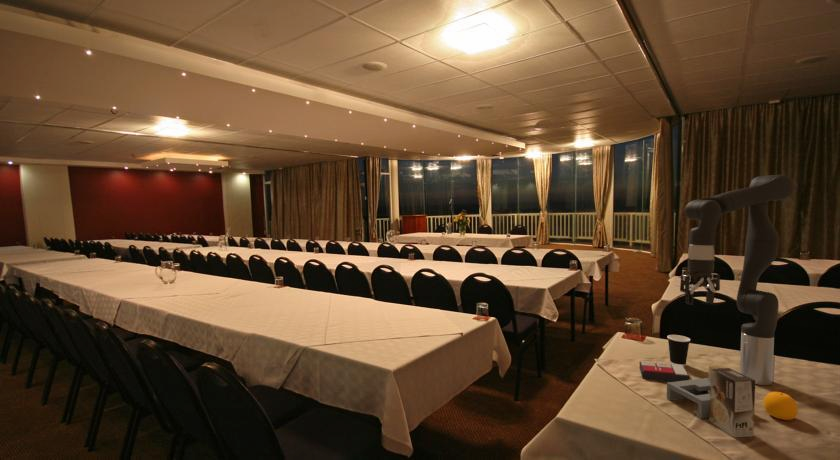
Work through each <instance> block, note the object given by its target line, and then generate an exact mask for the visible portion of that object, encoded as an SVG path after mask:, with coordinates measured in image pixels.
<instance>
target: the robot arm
mask: <svg viewBox="0 0 840 460" xmlns="http://www.w3.org/2000/svg"><path fill="white" fill-rule="evenodd" d="M794 188H795V187H794V181H793V179H792V178H790V177H789V176H787V175H785V174H771V175H769V174H768V175H761V176H756V177H754V178H753V179H752V180H751V182H750V183H749V187H746V188H745V187H744V188H739V189H733V190H728V191H726V192H722V193H719V194H717V195H714V196H708V197H703V198H699V199H698V198H697V199H694V200H691V201H690V202H689V201H688V203H687V204H686V205H685V208H684V215H685V216H686V218H688V219H690V220H691V221H700V222H699V226H697V227H693V228H691V229H690V230H689V241H688V242H689V244H688V251H687V252H688V253H687V270H688V271H689V274H681V275H680V285H679V286H680V287H679V291H680V292H681V293H685V295H684V296H685V304H686V305H689V306H693V305H694V292H695V291H696V290H697V289H699V288H704V289H705V290H706V291H705V293H706V294H705V302H706V303H707V304H714V301H715V293H716V292H717V291H718V292H719V291H721V277H720V276H721V274H719V273H715V272H714V271H715V232H716V230H717V227H718V224H719V221H720V218H721V215H725V214H728V213H732V212H735V211H738V210H740V209H743V208H746V207H748V219H747V221H748V222H747V232H746V239H745V247H744V255H743V257H744V259H743V264H742V265H743V267H742V272H741V277H740V283H739V286H738V290H737V294H736V295H737V296H736V307H737V309H738V311H739V312H741V313H744V314H748V315H752V316H755V317H757V319H756V322H747V323H743V324H742V325H741V327H740V328H741V330H740V334H741V335H740V353H739V354H740V358H739V373H741V374H743V375H745V376H747V377H749V378H751V379H753V380H755V385H759V386H771V385H772V384H773V383H774V382H775V368H776V367H775V366H776V357H775V356H774V353H775V352H774V350H775V349H774V347H775V331H776V330H777V325H778V324H777V323H778V314H779V307H780V306H779V300H778V296H777V295H776V294H775V293H772V292H769V291H764V290H763V291H762V290H757V287H758V282H759V279H760V277H761V275H762V274H763V273H764V272H765V271H766V269H768V268H769V267H770V266H771V265H772V264H773V263H774V261H775V260H776V259H777V256H778V255H779V254H778V253H779V245H780V243H779V242H780V237H779V233H778V231H777V229H776V228H775V226H774V225H773V223H772V221H771V219H770V217H769V213H768V202H772V201H775V202H777V201H783V200H786V199H788V198H789V197H790V196H792V194H793V192H794Z"/></svg>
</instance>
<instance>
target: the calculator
mask: <svg viewBox="0 0 840 460" xmlns="http://www.w3.org/2000/svg"><path fill="white" fill-rule="evenodd" d="M638 364H639V371H640V374H641V378H642V379H644V380H650V381H656V382H657V381H658V382H663V383H664V382H665V383H668V382H677V381H685V380H691V379H690V374H689V373H688V370H687V369H686V367H685V366H683V365H679V364H671V362H670V363H669V362H659V361H657V362H655V361H648V360H647V361H645V360H640V361H639V363H638Z"/></svg>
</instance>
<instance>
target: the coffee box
mask: <svg viewBox="0 0 840 460" xmlns="http://www.w3.org/2000/svg"><path fill="white" fill-rule="evenodd" d="M755 394H756V384H755V380H753V379H751V378H749V377H747V376H745V375H743V374H741V373H740V372H738V371H736V370H734V369H732V368H729V367H722V368H718V369H710V414H709V419H708V421H709V422H710V423H712V424H713V425H715V426H716V427H717V428H719V429H721V430H722V431H724V432H725V433H727V434H728V435H730V436H731V437H733V438H746V437H747V438H749V437H751V438H752V437H754V435H755V434H754V433H755V432H754V431H755V404H756V403H755V401H756V400H755V399H756V398H755V397H756V395H755Z"/></svg>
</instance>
